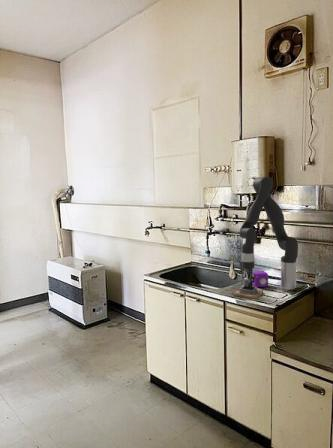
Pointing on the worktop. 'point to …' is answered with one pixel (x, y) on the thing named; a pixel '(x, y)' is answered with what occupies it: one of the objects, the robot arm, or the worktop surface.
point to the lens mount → (248, 293)
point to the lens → (246, 283)
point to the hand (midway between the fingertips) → (248, 287)
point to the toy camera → (260, 279)
